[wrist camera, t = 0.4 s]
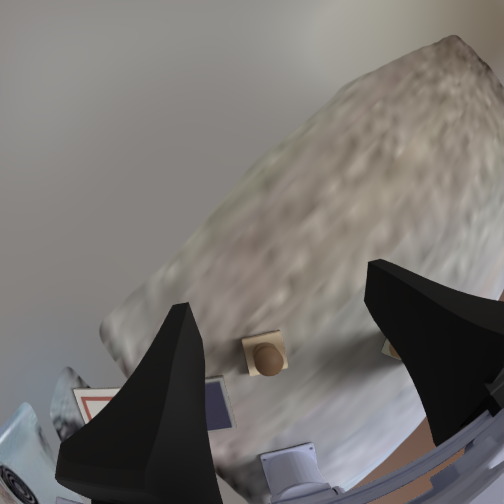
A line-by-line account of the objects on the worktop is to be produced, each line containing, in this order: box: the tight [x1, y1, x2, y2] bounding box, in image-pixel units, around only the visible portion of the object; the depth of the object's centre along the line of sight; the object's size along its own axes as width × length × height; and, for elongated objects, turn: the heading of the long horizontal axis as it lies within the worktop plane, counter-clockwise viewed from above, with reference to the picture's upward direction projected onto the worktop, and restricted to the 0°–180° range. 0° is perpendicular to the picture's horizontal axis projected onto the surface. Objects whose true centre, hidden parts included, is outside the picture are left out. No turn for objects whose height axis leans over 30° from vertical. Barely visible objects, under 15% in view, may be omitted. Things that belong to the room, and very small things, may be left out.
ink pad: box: [205, 375, 237, 432], centre depth 32 cm, size 8×8×2 cm
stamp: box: [242, 330, 288, 377], centre depth 32 cm, size 5×5×6 cm
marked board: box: [73, 387, 122, 424], centre depth 31 cm, size 14×14×1 cm
